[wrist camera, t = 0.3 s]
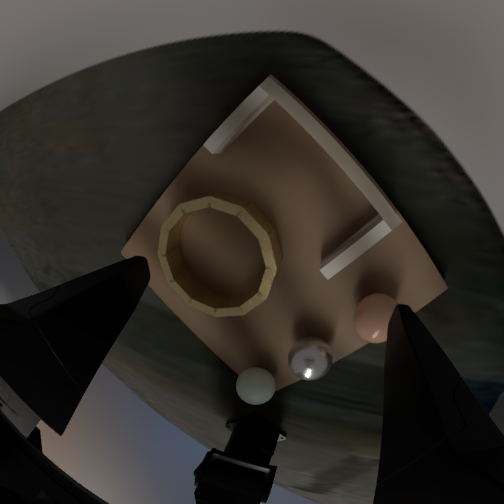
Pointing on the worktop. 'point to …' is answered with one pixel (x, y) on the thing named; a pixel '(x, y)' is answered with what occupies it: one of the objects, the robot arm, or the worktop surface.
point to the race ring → (189, 284)
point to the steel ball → (310, 358)
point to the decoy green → (255, 385)
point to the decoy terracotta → (374, 317)
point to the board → (286, 236)
